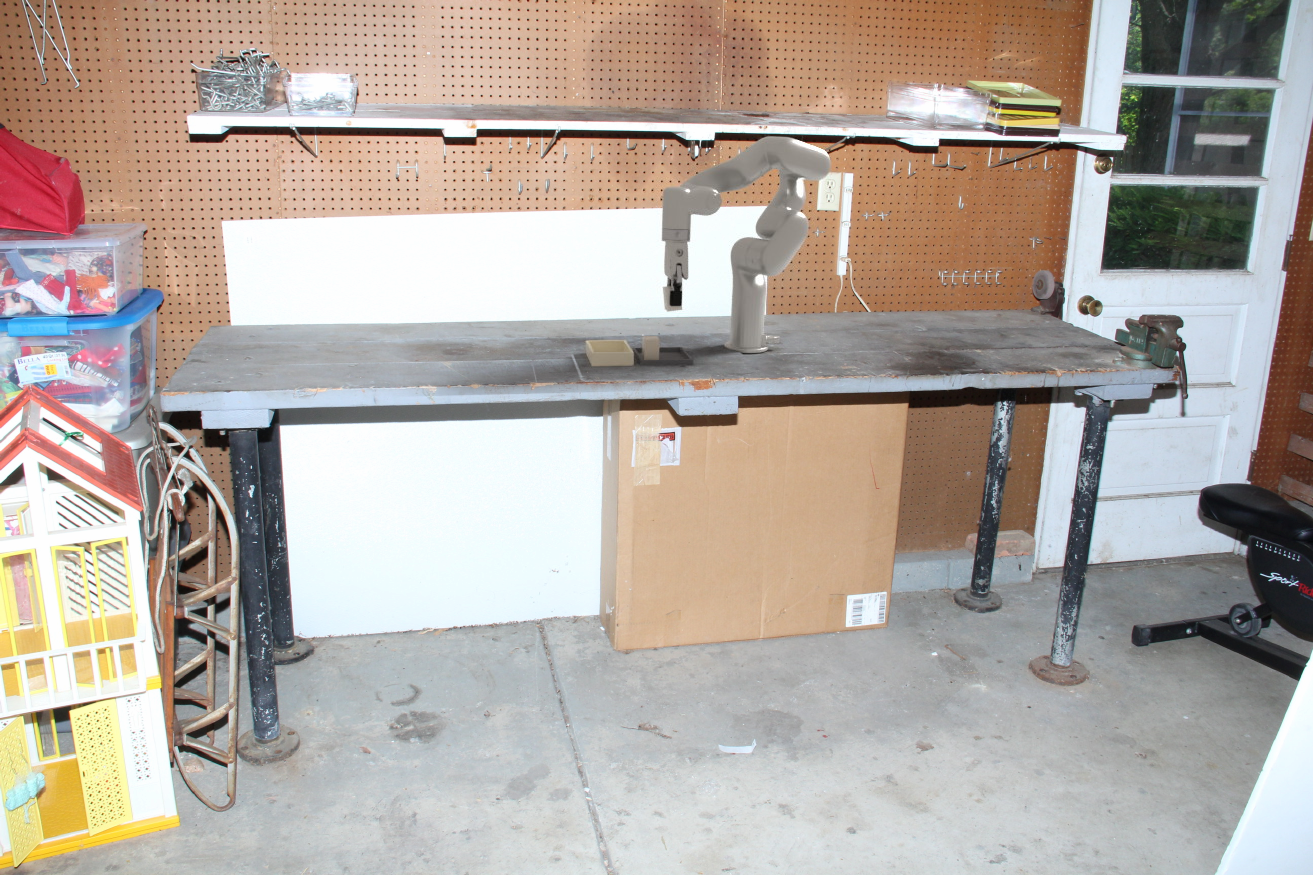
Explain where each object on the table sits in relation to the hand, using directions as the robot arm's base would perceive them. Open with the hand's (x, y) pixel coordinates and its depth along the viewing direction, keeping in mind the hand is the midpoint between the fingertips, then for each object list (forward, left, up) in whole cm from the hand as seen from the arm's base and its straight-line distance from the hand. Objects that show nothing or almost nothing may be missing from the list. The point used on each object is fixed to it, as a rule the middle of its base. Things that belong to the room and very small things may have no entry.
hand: (674, 303), depth 264 cm
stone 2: (0, 0, -2) cm, 2 cm away
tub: (+18, +2, -15) cm, 23 cm away
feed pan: (+3, +2, -15) cm, 16 cm away
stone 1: (+7, +3, -15) cm, 16 cm away
